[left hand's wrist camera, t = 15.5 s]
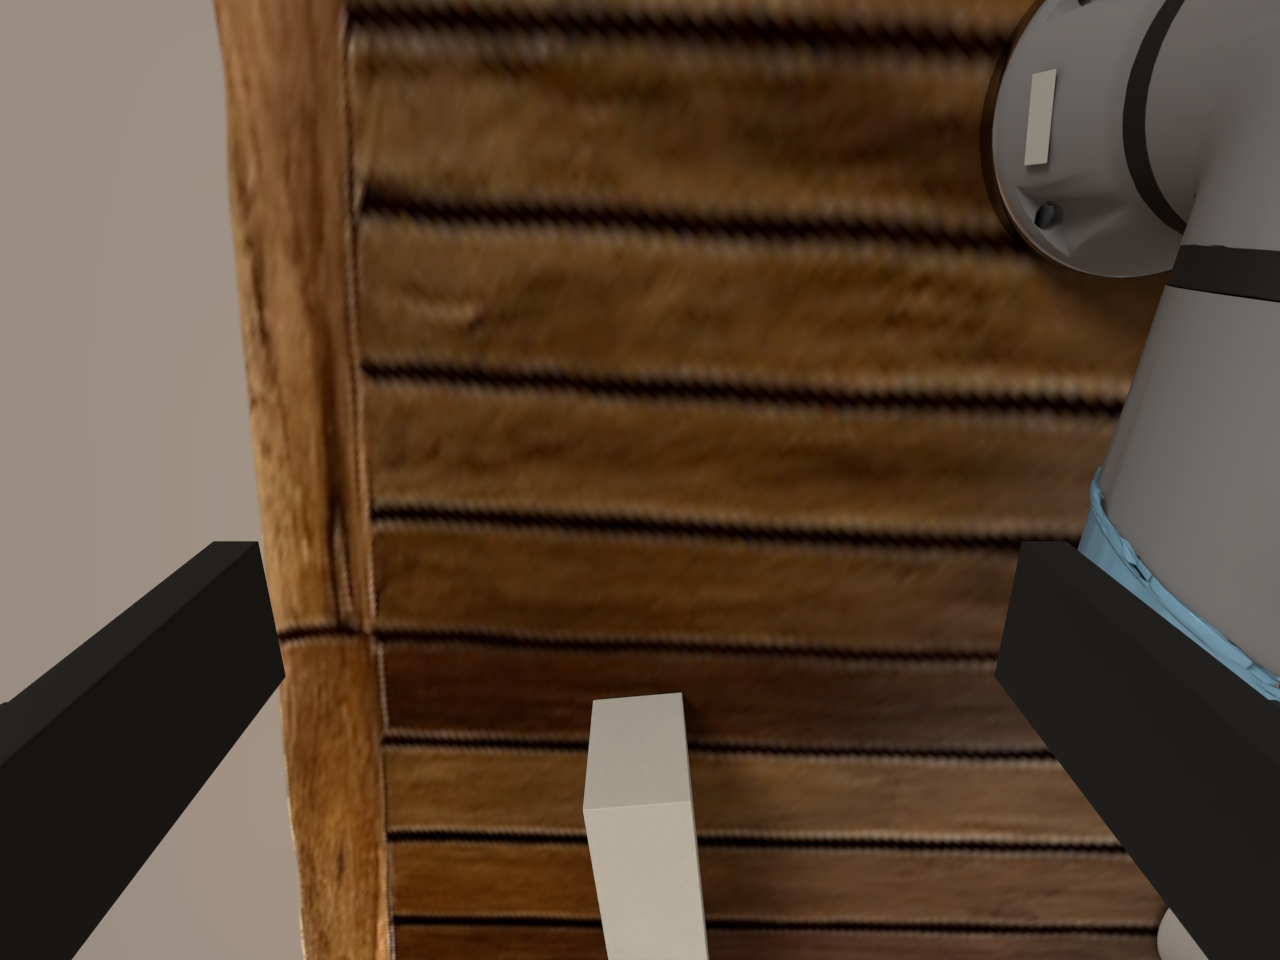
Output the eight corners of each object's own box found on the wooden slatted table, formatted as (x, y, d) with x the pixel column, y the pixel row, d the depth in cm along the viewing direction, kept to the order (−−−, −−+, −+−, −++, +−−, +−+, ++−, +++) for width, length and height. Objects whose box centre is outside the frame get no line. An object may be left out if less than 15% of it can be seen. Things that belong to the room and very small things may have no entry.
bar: (593, 699, 48) (582, 810, 39) (681, 692, 48) (691, 801, 39) (633, 960, 57) (632, 1098, 48) (708, 954, 57) (721, 1092, 48)
